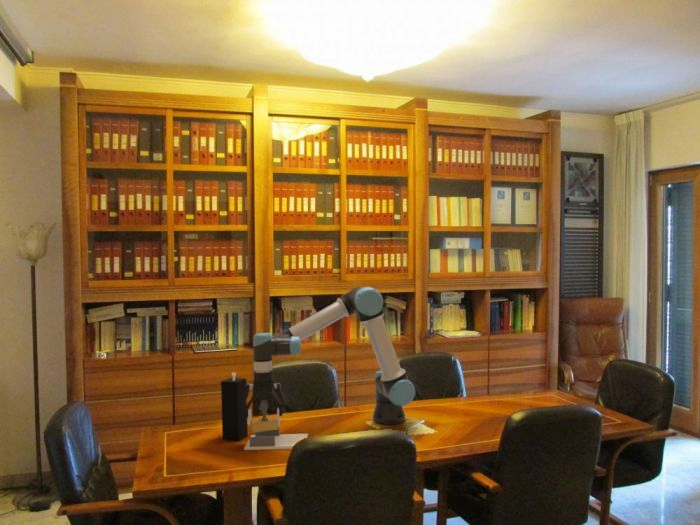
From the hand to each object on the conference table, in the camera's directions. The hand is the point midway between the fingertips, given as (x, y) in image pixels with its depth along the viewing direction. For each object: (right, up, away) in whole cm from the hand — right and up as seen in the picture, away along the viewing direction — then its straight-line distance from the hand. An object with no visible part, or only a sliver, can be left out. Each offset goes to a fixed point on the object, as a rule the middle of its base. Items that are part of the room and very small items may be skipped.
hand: (264, 424), depth 225 cm
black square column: (-14, -8, +8) cm, 18 cm away
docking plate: (+5, -8, 0) cm, 9 cm away
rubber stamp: (0, -2, 0) cm, 2 cm away
